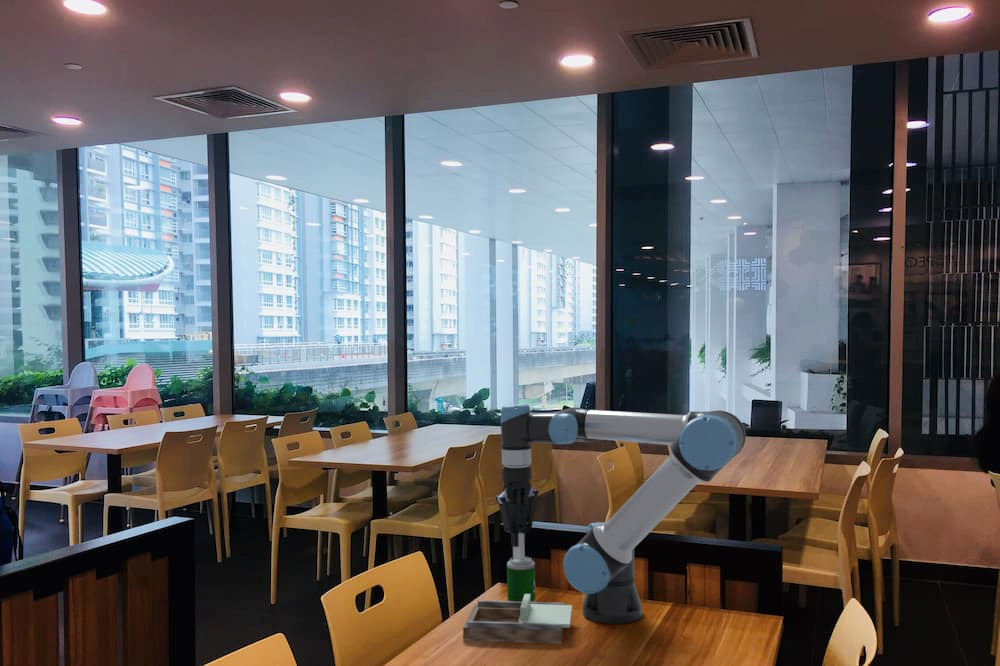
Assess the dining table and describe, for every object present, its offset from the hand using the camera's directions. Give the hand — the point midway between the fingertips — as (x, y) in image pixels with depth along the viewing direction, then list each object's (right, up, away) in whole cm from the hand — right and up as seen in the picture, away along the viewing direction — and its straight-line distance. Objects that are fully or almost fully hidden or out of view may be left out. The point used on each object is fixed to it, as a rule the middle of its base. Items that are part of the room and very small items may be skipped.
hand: (519, 558), depth 195 cm
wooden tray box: (-1, -15, -7) cm, 17 cm away
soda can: (+1, -16, +11) cm, 19 cm away
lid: (+7, -12, -8) cm, 16 cm away
